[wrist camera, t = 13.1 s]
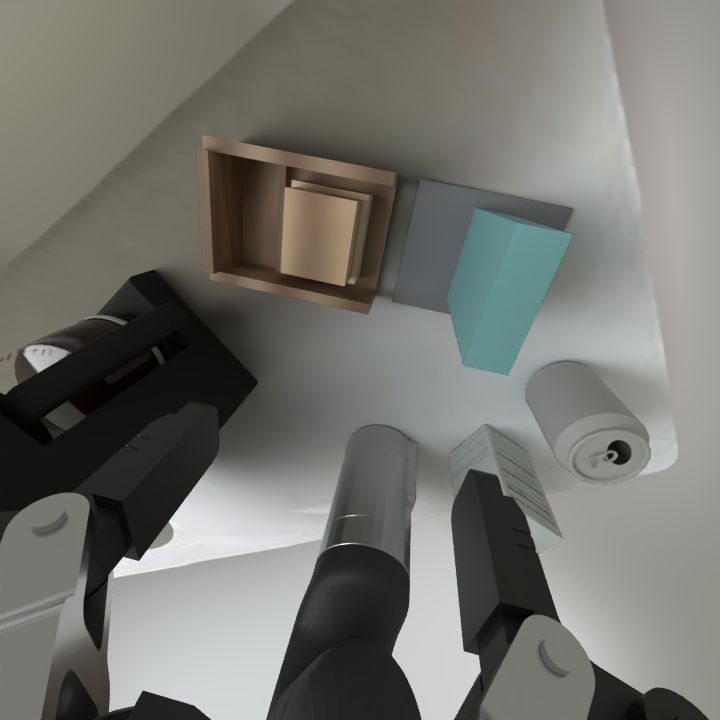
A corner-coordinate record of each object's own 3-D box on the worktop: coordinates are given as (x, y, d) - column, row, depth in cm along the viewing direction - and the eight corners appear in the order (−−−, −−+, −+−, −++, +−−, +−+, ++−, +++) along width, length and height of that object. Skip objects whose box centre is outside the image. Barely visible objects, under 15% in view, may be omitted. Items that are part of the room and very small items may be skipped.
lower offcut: (373, 194, 31) (369, 195, 29) (359, 277, 35) (354, 284, 33) (302, 180, 32) (291, 179, 29) (296, 263, 36) (286, 269, 33)
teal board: (506, 213, 31) (573, 234, 18) (474, 304, 35) (508, 375, 22) (474, 207, 31) (517, 223, 18) (446, 298, 35) (463, 365, 22)
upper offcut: (362, 200, 29) (357, 201, 26) (350, 278, 32) (344, 286, 30) (296, 187, 29) (285, 187, 27) (291, 265, 33) (280, 272, 30)
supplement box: (487, 480, 47) (509, 571, 36) (447, 453, 46) (456, 539, 35) (528, 451, 43) (566, 541, 32) (486, 421, 42) (510, 504, 31)
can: (599, 401, 39) (667, 482, 28) (532, 419, 41) (571, 499, 31) (586, 348, 36) (656, 414, 25) (515, 370, 38) (551, 440, 28)
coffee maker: (168, 243, 38) (-891, 485, 7) (281, 369, 43) (-44, 804, 13) (61, 359, 49) (-542, 652, 18) (162, 448, 54) (-167, 785, 24)
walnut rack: (399, 174, 31) (394, 171, 25) (375, 296, 37) (366, 317, 31) (237, 143, 32) (195, 133, 26) (238, 266, 38) (204, 282, 32)
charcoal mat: (570, 208, 30) (572, 208, 30) (518, 327, 36) (519, 329, 36) (420, 178, 31) (420, 178, 30) (392, 299, 37) (392, 301, 36)
